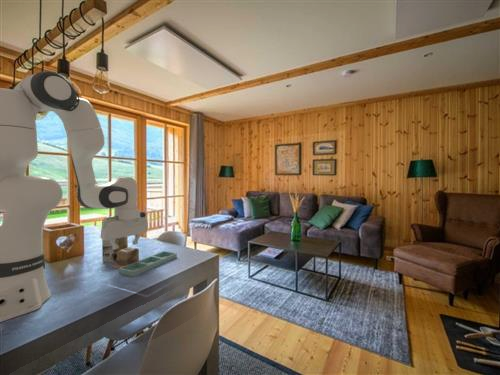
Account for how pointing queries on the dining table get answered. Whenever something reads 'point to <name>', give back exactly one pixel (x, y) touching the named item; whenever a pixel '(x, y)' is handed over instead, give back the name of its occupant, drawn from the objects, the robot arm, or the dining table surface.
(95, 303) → the dining table surface
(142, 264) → the tray near
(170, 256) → the tray far
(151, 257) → the tray middle
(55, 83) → the robot arm
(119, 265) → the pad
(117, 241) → the coffee box
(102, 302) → the dining table surface
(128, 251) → the letter cube
